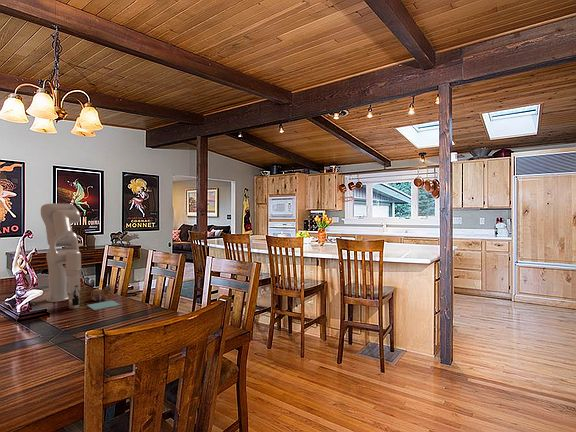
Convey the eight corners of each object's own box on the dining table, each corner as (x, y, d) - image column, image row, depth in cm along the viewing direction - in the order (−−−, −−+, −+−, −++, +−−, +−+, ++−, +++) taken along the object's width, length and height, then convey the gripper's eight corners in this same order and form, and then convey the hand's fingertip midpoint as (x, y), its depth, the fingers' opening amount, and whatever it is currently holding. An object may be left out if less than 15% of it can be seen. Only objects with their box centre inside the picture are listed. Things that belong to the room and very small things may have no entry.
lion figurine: (114, 297, 220) (114, 283, 220) (112, 300, 215) (112, 285, 215) (89, 299, 216) (88, 285, 216) (86, 301, 211) (86, 287, 211)
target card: (86, 305, 203) (86, 305, 203) (112, 300, 212) (112, 300, 212) (94, 310, 193) (94, 309, 193) (120, 305, 203) (120, 304, 203)
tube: (68, 307, 199) (67, 290, 199) (78, 305, 202) (77, 288, 202) (70, 309, 195) (70, 291, 195) (80, 307, 199) (80, 289, 199)
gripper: (62, 271, 202) (62, 302, 202) (70, 275, 190) (70, 308, 190) (76, 270, 207) (77, 300, 208) (85, 273, 195) (86, 305, 196)
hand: (74, 304), depth 199 cm, fingers closed on tube, 5 cm apart
